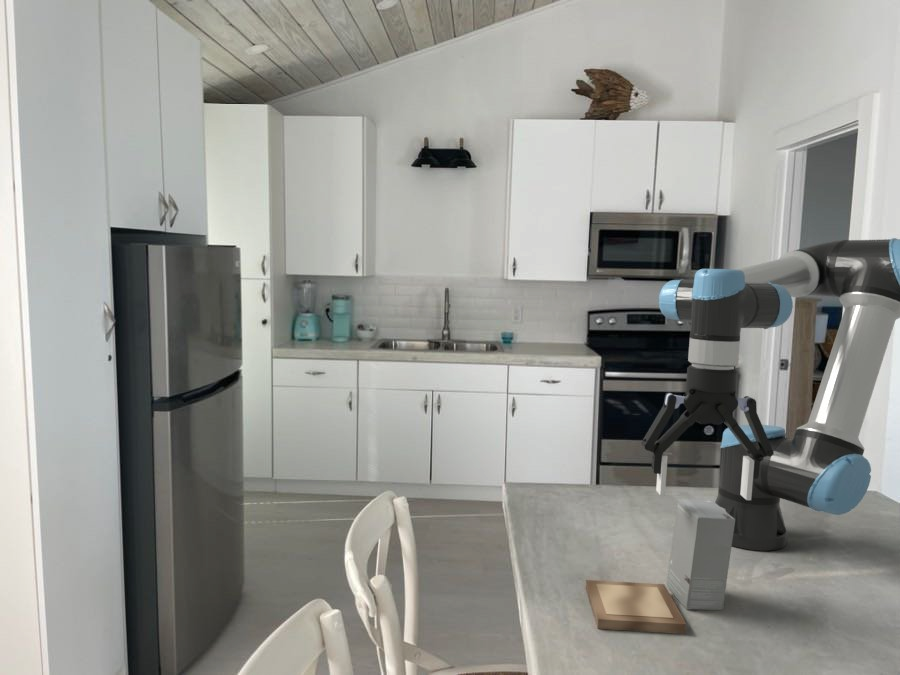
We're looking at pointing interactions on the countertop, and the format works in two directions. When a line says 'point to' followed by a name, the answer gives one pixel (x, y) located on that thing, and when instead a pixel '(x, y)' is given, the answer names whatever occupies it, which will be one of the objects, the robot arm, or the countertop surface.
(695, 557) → the skincare box
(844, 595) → the countertop surface
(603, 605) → the tan flat square board
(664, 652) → the countertop surface
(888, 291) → the robot arm
